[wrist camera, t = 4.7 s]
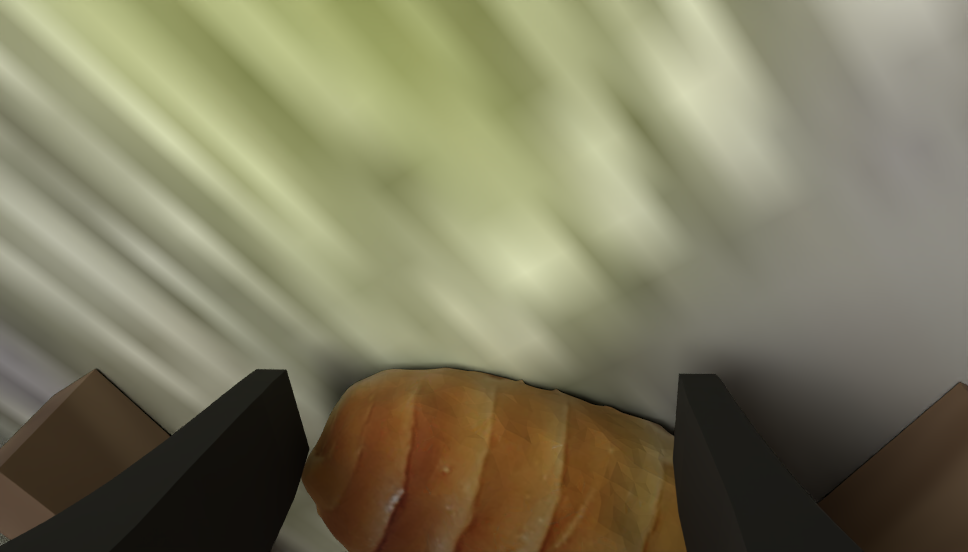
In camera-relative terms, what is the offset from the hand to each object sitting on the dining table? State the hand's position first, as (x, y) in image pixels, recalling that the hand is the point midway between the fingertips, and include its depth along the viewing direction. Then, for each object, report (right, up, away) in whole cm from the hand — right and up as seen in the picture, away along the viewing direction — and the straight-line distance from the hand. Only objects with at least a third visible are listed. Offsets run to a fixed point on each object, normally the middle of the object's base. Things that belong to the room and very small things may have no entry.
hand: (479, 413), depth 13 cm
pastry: (+2, -2, +3) cm, 4 cm away
